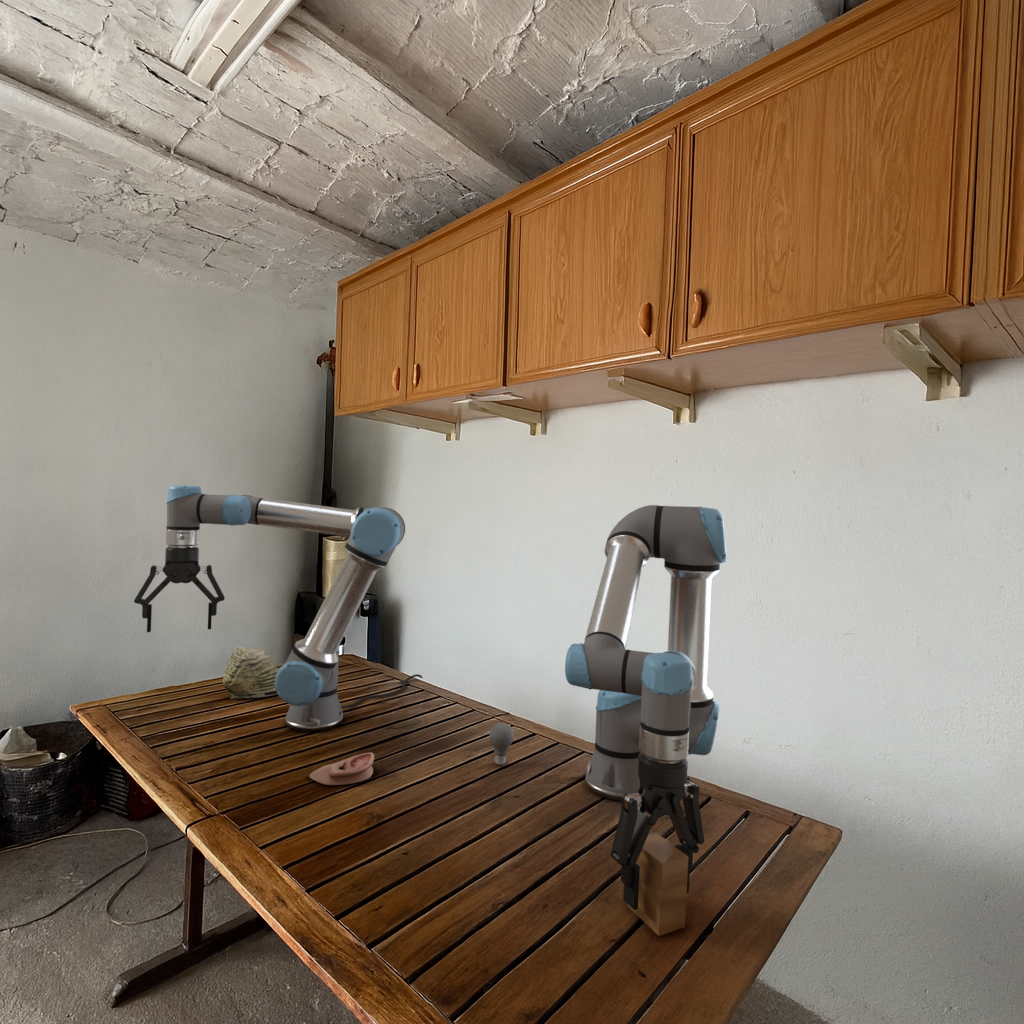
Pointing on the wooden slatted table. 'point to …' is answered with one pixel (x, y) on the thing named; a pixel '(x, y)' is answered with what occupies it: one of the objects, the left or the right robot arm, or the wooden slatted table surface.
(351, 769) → the anatomical model
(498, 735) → the light bulb
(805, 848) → the wooden slatted table surface
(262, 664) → the fossil
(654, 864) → the block
